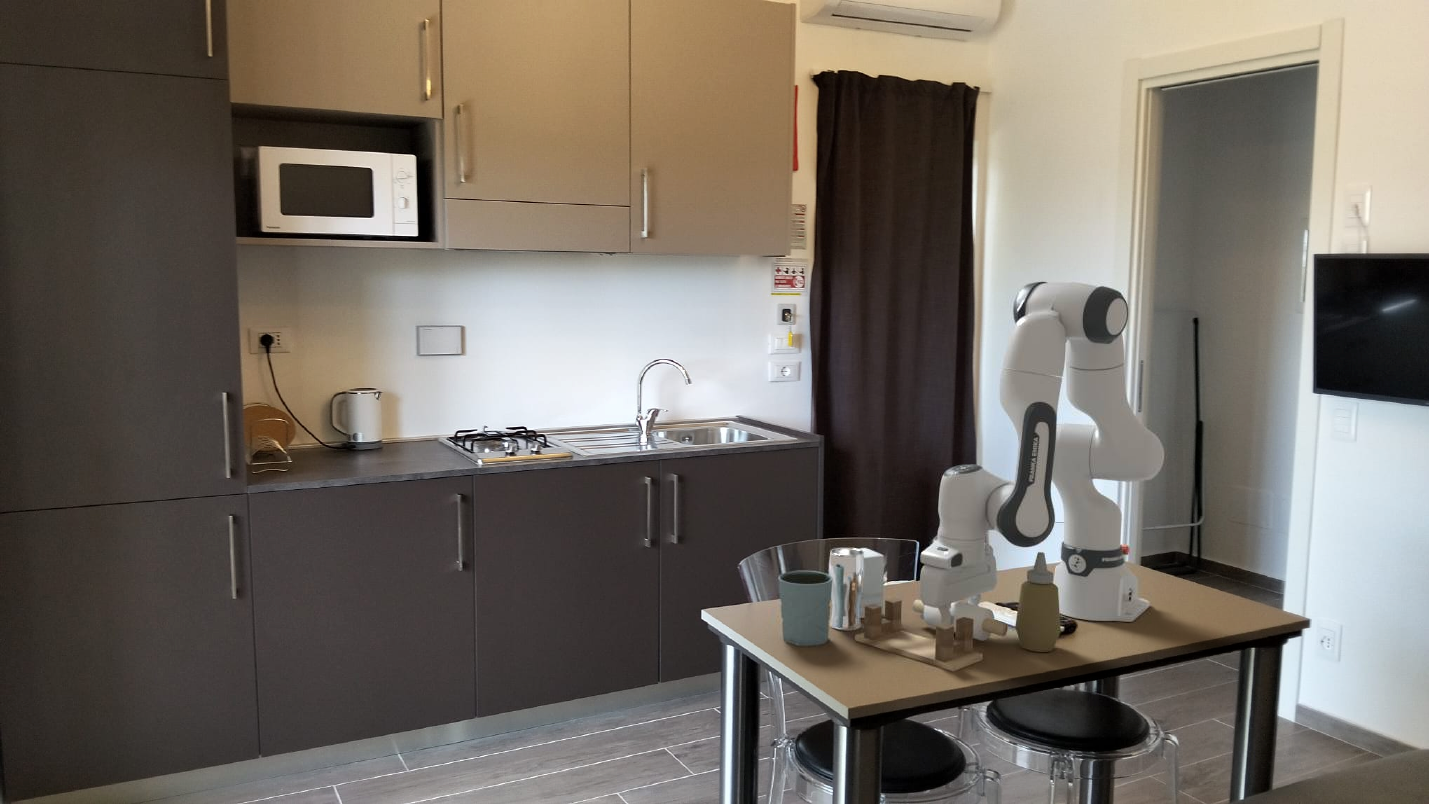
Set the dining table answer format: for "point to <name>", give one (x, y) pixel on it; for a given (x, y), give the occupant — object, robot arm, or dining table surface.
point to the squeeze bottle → (1038, 609)
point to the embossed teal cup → (805, 606)
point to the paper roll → (982, 617)
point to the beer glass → (846, 587)
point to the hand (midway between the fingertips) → (958, 620)
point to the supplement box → (872, 580)
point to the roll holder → (919, 638)
